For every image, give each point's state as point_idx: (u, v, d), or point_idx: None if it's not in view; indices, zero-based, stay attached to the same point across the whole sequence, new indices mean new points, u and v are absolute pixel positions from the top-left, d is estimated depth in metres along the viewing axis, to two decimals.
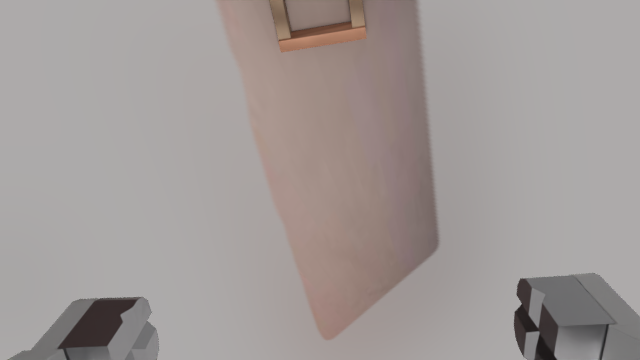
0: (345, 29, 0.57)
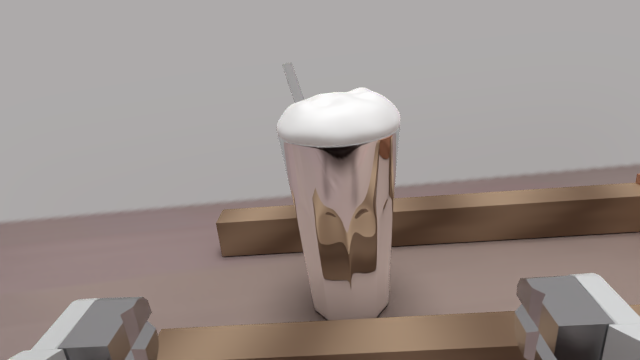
0: None
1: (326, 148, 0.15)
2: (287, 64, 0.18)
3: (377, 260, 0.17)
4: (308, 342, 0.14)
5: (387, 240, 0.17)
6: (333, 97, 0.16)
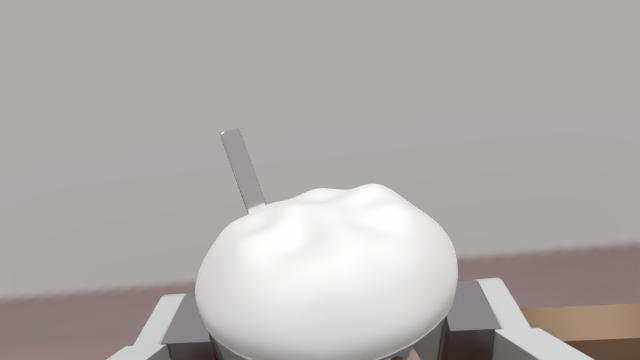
0: None
1: None
2: (230, 132, 0.10)
3: None
4: None
5: None
6: (312, 221, 0.07)
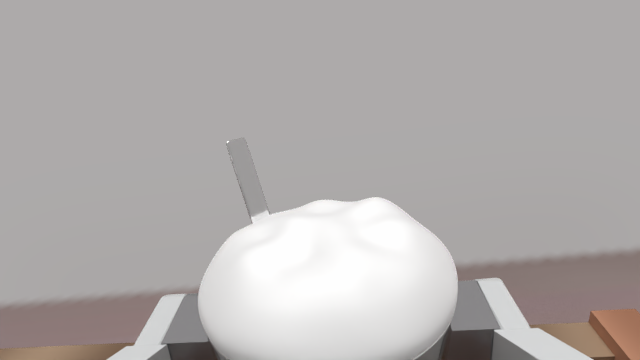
0: None
1: None
2: (236, 141, 0.10)
3: None
4: None
5: None
6: (315, 235, 0.08)
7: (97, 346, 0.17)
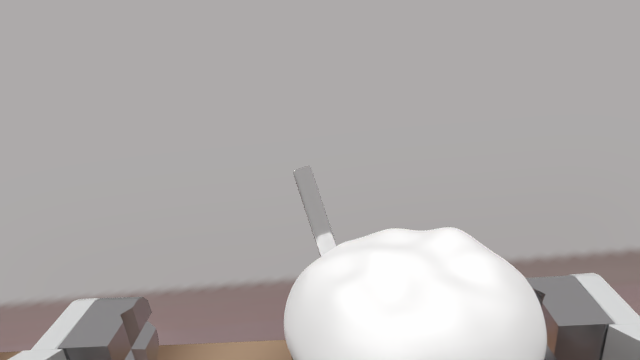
0: None
1: None
2: (302, 170, 0.10)
3: None
4: None
5: None
6: (403, 270, 0.08)
7: None
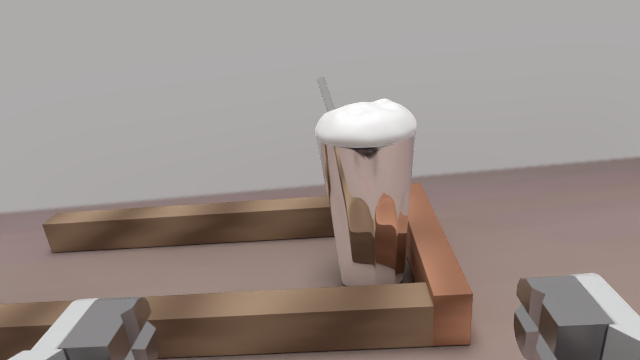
0: None
1: (358, 148, 0.18)
2: (320, 78, 0.22)
3: (396, 241, 0.21)
4: (33, 317, 0.19)
5: (404, 224, 0.21)
6: (362, 107, 0.20)
7: (118, 209, 0.29)
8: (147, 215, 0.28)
